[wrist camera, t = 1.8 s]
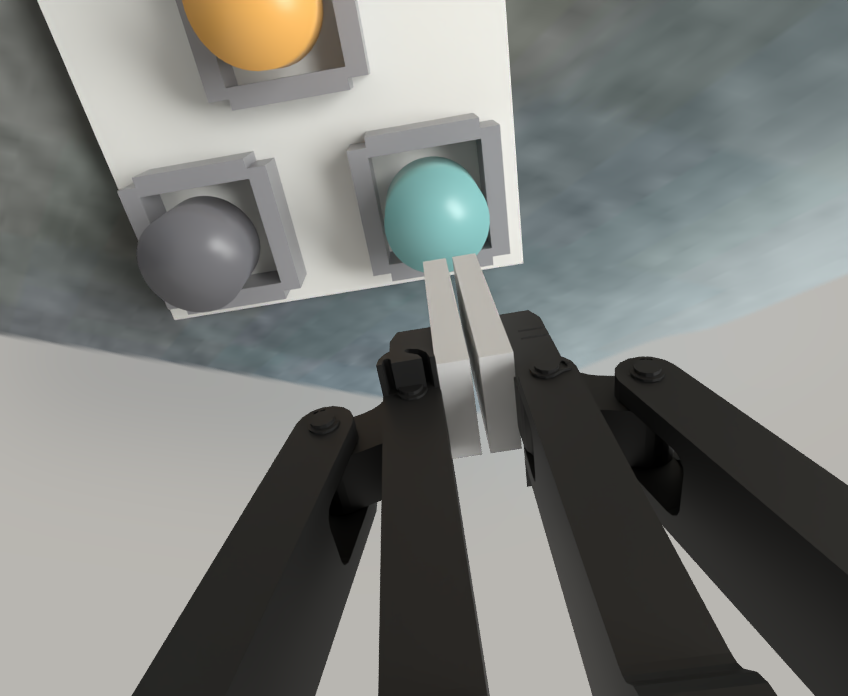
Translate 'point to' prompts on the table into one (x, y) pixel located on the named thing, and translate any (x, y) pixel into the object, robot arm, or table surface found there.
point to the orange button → (257, 30)
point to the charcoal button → (199, 253)
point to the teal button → (435, 213)
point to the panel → (300, 128)
